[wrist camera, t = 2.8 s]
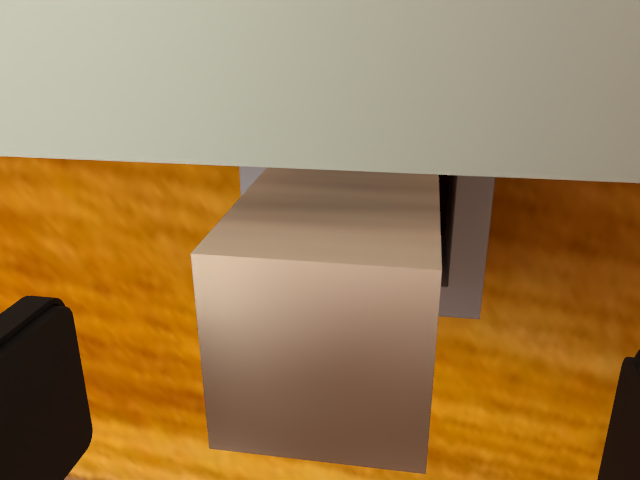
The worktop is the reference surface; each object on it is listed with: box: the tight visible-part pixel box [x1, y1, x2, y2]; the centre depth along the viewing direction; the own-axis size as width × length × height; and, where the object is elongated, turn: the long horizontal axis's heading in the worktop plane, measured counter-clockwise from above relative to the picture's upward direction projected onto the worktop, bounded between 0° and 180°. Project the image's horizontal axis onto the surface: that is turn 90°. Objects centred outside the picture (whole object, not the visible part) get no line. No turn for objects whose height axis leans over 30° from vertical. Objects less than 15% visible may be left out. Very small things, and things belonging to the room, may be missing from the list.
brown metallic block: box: [191, 167, 442, 474], centre depth 16 cm, size 4×4×12 cm
